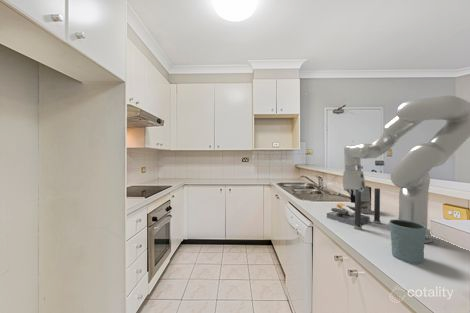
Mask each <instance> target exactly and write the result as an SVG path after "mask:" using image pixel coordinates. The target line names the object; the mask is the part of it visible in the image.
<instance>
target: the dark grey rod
mask: <svg viewBox="0 0 470 313" xmlns="http://www.w3.org/2000/svg"><path fill="white" fill-rule="evenodd" d="M354 207H355V225H354V226H353V229H355V230H359V231H361V230H362V228H363V226H362V224H361V215H362V213H361V192H360V191H355V203H354Z"/></svg>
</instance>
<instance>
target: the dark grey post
mask: <svg viewBox="0 0 470 313" xmlns="http://www.w3.org/2000/svg"><path fill="white" fill-rule="evenodd" d="M373 190H374V205H373V208H374V209H373V210H374V211H373V212H374V214H373V215H374V216H373V217H374V219H373V220H372V222H373V224H375V225H381V223H382V221H381V219H380V218H381V217H380V216H381V215H380V214H381V211H380V209H381V188H378V187H377V188H376V187H375V188H374V189H373Z"/></svg>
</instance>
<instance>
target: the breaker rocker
mask: <svg viewBox="0 0 470 313" xmlns="http://www.w3.org/2000/svg"><path fill="white" fill-rule="evenodd" d="M347 206H348V205H345V204H344V203H337V204H336V208H337V209H341V210H345V211H348V214H349V215H355V211H353V210H352V209H350V208H348V207H347Z"/></svg>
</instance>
